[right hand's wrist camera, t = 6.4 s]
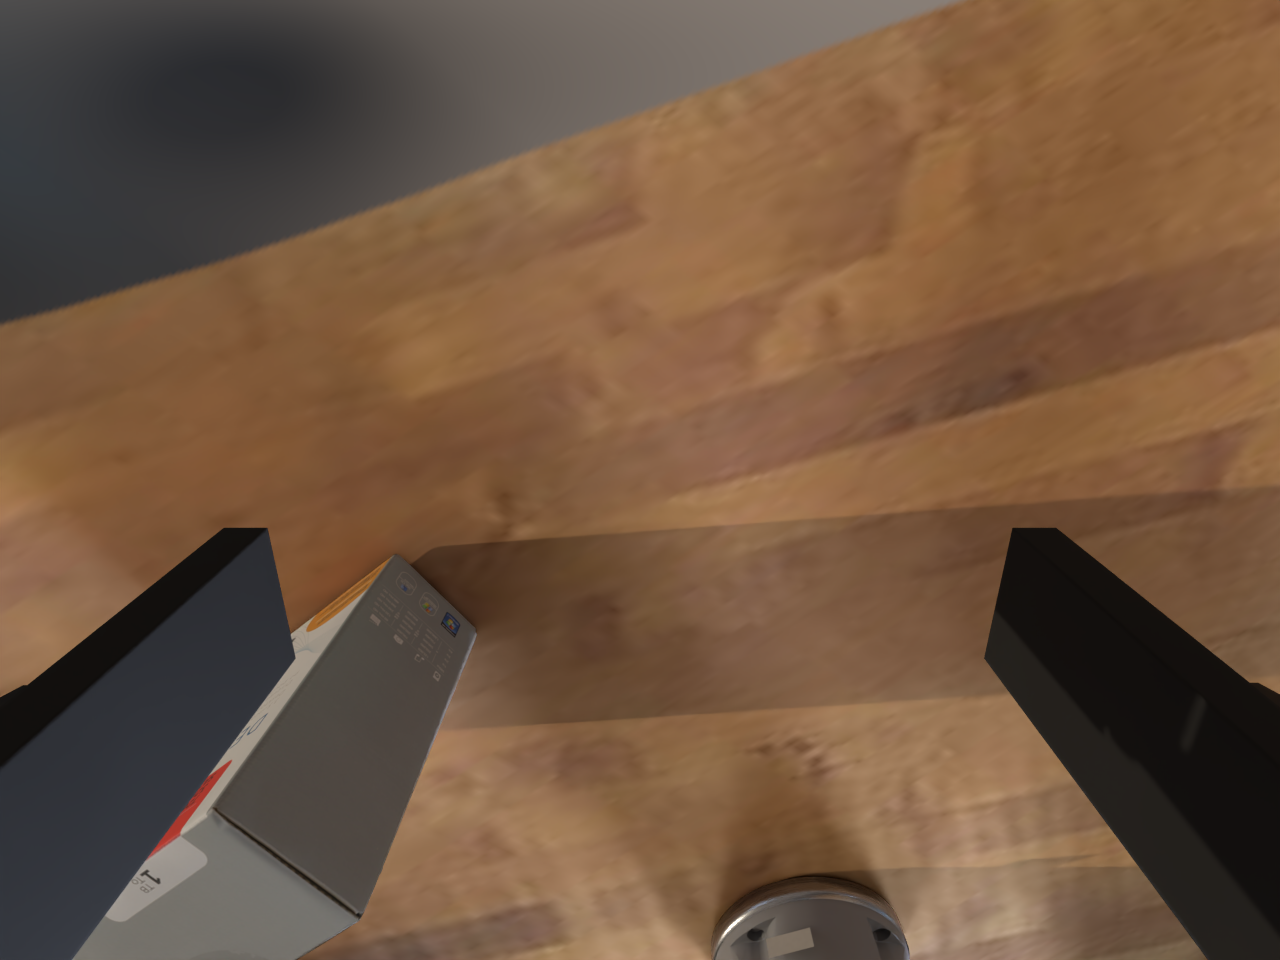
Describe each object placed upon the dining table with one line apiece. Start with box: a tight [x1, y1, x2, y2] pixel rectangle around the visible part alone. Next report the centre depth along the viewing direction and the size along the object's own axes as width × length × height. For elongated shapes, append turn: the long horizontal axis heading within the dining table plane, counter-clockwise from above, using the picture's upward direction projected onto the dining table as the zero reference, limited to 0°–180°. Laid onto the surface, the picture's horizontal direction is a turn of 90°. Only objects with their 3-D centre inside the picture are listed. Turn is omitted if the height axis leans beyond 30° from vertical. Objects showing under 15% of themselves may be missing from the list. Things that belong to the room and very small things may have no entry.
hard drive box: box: [72, 554, 477, 960], centre depth 37 cm, size 16×8×20 cm, turn 128°
